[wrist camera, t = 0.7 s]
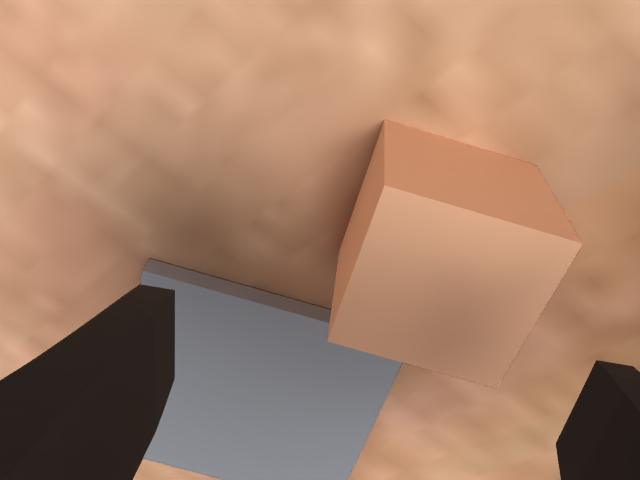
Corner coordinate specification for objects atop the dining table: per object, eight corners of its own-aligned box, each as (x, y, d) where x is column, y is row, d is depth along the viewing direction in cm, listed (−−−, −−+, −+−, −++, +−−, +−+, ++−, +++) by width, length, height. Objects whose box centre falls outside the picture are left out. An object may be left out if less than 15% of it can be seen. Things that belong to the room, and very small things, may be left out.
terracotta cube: (536, 164, 18) (582, 243, 14) (473, 289, 21) (496, 388, 17) (384, 118, 18) (384, 185, 14) (339, 250, 21) (327, 341, 16)
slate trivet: (409, 332, 22) (410, 345, 21) (335, 493, 27) (334, 509, 26) (150, 258, 21) (142, 270, 21) (123, 437, 26) (116, 451, 26)
